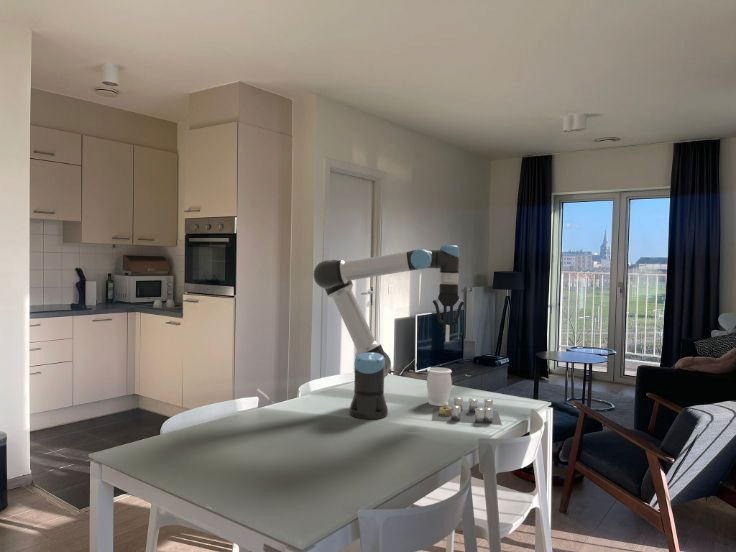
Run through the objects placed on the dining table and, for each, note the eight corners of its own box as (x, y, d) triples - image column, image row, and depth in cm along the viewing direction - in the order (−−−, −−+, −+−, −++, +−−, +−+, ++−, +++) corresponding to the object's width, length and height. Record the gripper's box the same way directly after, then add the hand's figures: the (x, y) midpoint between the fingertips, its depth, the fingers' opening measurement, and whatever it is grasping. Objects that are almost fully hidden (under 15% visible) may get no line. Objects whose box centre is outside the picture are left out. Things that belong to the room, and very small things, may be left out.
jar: (452, 408, 237) (453, 372, 236) (427, 407, 237) (428, 371, 236) (449, 401, 247) (450, 367, 247) (425, 401, 247) (426, 366, 247)
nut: (439, 415, 223) (439, 409, 223) (440, 412, 228) (440, 405, 228) (451, 416, 222) (451, 410, 222) (451, 412, 227) (451, 406, 227)
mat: (431, 422, 216) (431, 420, 216) (433, 408, 235) (433, 407, 235) (501, 426, 212) (501, 424, 212) (497, 412, 231) (497, 411, 231)
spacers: (450, 421, 215) (451, 408, 215) (450, 408, 234) (451, 396, 234) (495, 424, 213) (496, 411, 213) (492, 411, 231) (492, 398, 231)
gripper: (432, 283, 228) (430, 342, 229) (465, 284, 226) (463, 343, 227) (433, 282, 236) (431, 339, 236) (465, 283, 234) (463, 340, 234)
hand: (447, 341), depth 232 cm, fingers closed
